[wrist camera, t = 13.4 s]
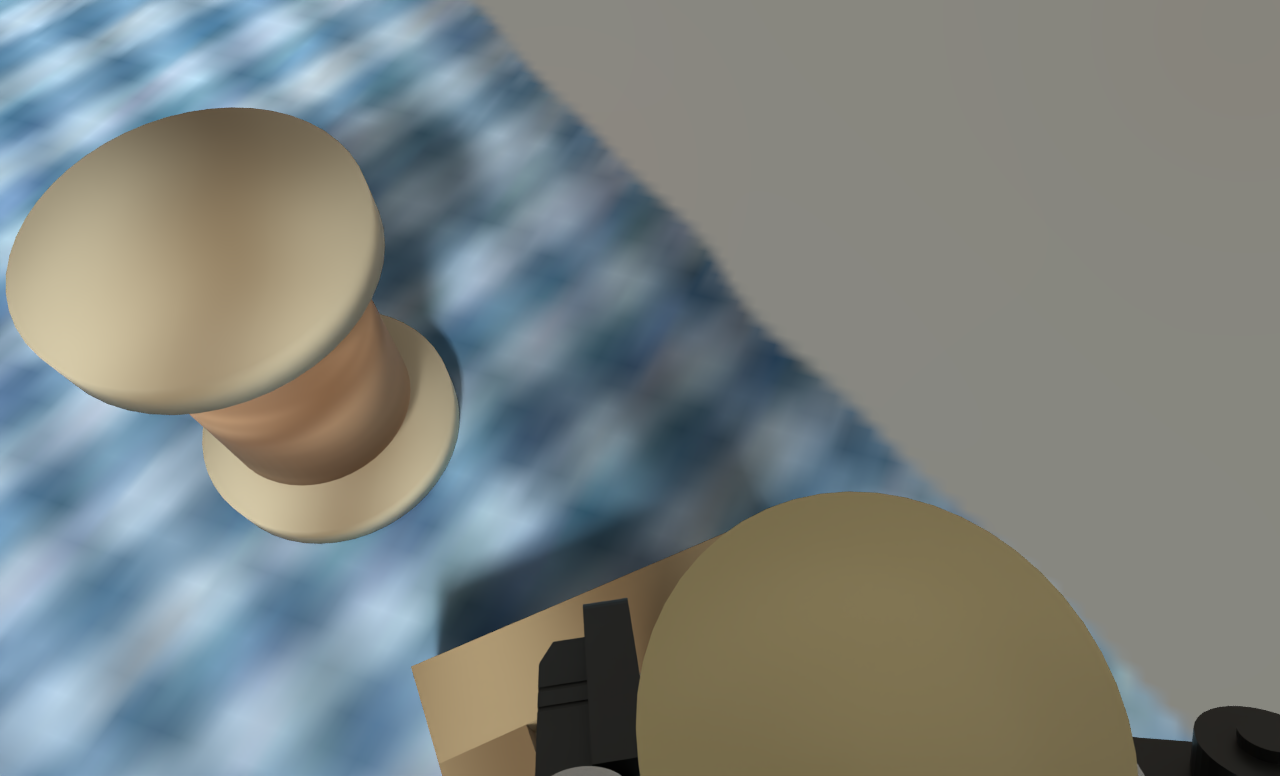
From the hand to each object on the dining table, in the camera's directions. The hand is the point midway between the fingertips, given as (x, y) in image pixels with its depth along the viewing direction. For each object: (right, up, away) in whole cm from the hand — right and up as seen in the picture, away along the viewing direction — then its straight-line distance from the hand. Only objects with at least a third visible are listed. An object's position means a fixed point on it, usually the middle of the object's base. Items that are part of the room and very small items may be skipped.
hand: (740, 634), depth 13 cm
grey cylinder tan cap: (0, -4, +3) cm, 5 cm away
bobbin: (-10, +3, +11) cm, 16 cm away
